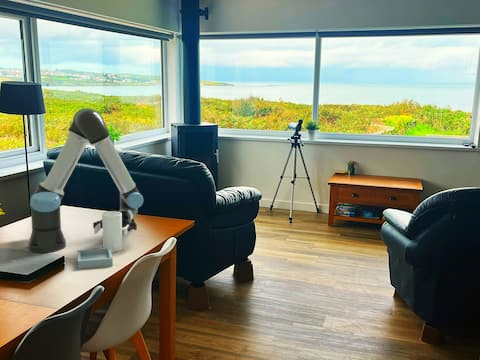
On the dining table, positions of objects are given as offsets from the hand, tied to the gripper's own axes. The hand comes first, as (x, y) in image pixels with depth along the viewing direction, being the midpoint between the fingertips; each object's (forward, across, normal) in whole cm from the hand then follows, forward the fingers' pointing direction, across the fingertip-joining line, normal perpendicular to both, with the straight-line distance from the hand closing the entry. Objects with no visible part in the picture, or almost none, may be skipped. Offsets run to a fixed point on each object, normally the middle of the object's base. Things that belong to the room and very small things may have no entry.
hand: (109, 231), depth 199 cm
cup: (-4, 0, -9) cm, 10 cm away
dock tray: (+12, +3, -9) cm, 15 cm away
